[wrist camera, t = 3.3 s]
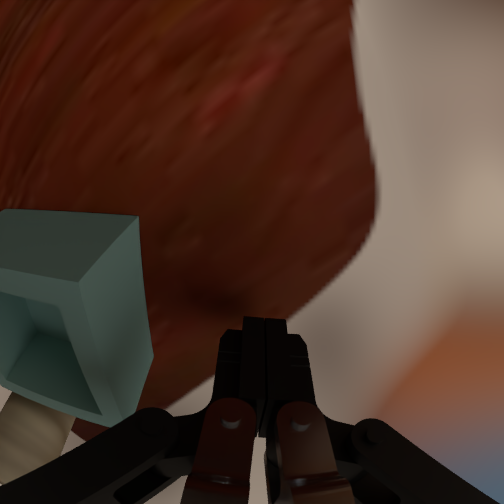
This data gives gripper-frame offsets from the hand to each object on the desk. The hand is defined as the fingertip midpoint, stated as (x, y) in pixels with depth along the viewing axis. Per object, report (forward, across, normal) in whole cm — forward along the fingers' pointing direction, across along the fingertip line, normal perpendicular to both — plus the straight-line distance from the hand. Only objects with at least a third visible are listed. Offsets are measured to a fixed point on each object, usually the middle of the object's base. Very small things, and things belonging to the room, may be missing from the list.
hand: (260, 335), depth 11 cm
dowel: (+2, +12, +7) cm, 13 cm away
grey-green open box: (+2, +8, 0) cm, 9 cm away
